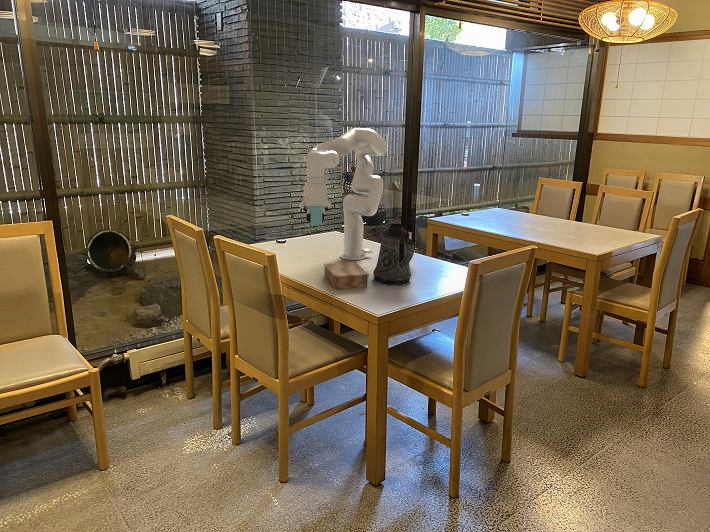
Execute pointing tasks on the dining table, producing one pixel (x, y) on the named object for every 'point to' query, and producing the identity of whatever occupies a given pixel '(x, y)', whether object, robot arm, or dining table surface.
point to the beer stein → (394, 256)
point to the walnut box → (346, 275)
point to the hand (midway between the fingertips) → (315, 221)
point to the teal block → (315, 216)
